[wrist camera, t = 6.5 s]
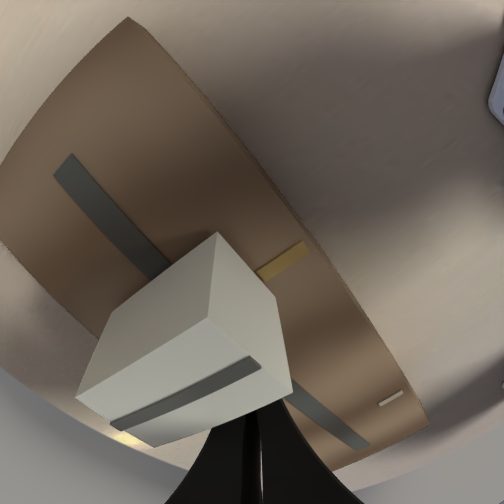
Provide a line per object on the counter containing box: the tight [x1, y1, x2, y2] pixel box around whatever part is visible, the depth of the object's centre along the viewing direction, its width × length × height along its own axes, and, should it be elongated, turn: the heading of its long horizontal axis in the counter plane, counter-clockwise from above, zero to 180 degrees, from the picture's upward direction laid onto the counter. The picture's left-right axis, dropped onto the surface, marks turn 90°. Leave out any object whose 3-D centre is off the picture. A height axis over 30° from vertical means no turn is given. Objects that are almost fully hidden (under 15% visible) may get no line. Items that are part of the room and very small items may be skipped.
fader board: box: [0, 17, 430, 472], centre depth 14 cm, size 26×9×2 cm, turn 37°
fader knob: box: [75, 231, 293, 448], centre depth 9 cm, size 3×5×4 cm, turn 127°
